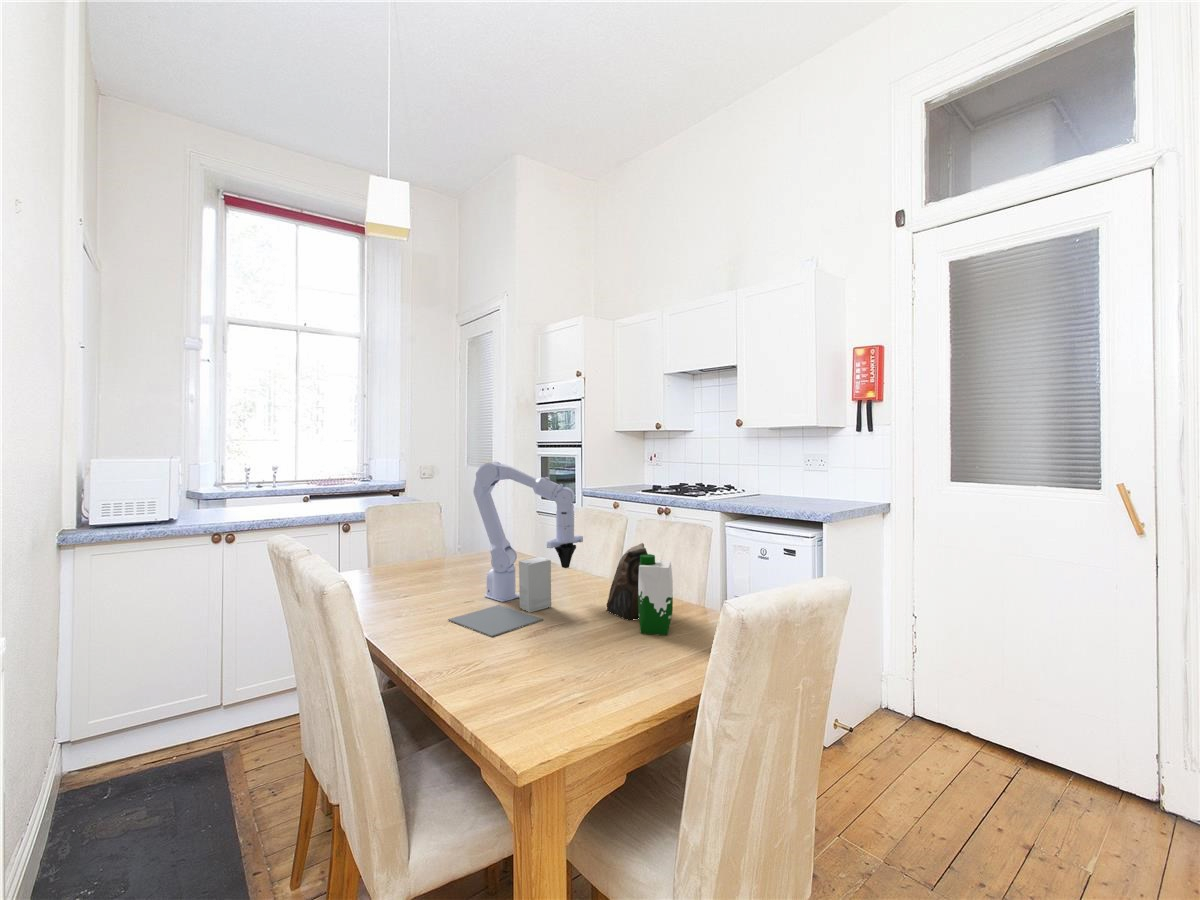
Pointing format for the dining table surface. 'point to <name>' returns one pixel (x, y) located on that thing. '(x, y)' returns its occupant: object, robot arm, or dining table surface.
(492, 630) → the mat
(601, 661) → the dining table surface
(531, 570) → the skincare box
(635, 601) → the owl
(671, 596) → the milk carton
